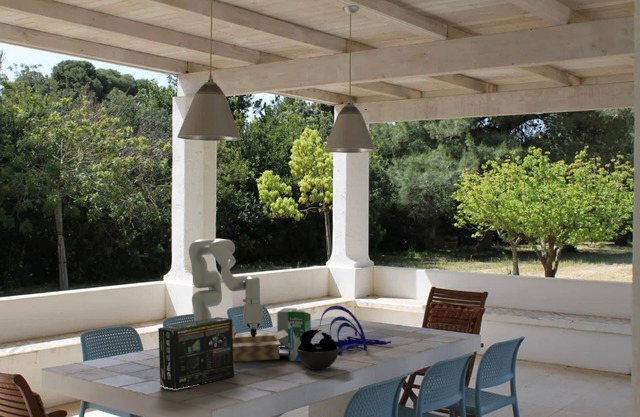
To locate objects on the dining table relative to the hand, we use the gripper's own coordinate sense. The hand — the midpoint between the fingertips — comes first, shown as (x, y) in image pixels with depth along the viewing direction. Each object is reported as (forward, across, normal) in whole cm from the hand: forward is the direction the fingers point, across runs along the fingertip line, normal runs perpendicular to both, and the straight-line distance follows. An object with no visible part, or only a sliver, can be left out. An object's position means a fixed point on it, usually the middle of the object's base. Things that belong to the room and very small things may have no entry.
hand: (253, 336), depth 387 cm
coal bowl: (+11, +27, -37) cm, 47 cm away
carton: (+11, 0, 0) cm, 11 cm away
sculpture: (+11, +51, +9) cm, 53 cm away
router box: (+11, -30, -48) cm, 58 cm away
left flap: (+1, -12, 0) cm, 12 cm away
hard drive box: (+11, +21, +25) cm, 34 cm away
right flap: (+1, +12, 0) cm, 12 cm away
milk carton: (+11, +22, -13) cm, 28 cm away
